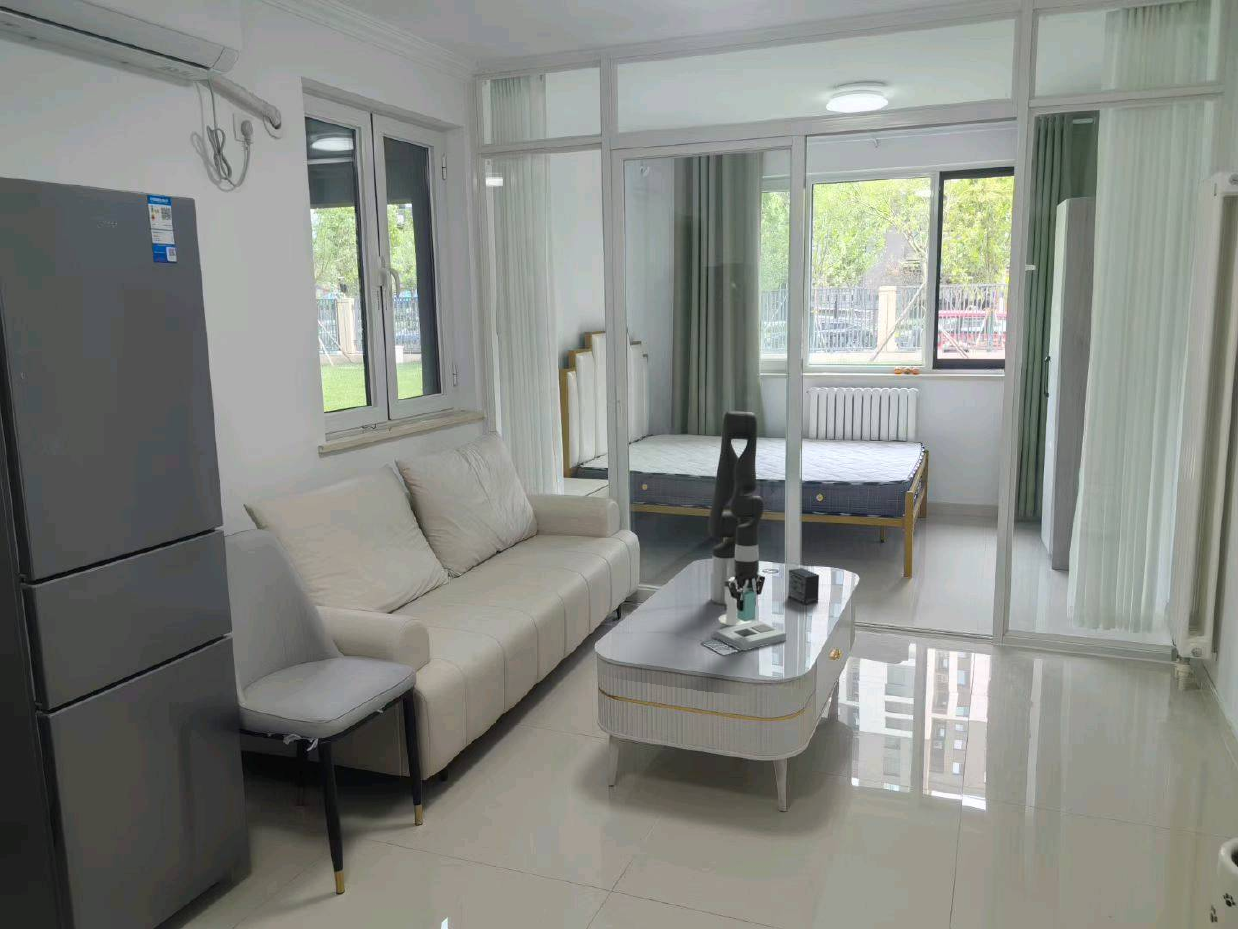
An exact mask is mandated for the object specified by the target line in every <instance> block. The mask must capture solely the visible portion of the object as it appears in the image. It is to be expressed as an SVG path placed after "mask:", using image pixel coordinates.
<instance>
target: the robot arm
mask: <svg viewBox="0 0 1238 929" xmlns="http://www.w3.org/2000/svg"><path fill="white" fill-rule="evenodd" d="M757 419H758V418H757V416H756V414H755V413H754V412H752V411H751V412H750V411H734V410H733V411H731V410H730V411H727V412H725V414H724V415H723V420H722V428H721V441H720V442H721V443H720V444H721V445H720V452H719V458H718V464H717V470H716V477H715V486H714V494H713V499H712V504H711V508H710V512H709V516H708V517H709V518H708V523H707V524H708V526H707V528H708V529H707V530H708V533H709V535H710V536H711V537H712V538H717V539H718V538H726V539H725V540H724V541H722V542H721V543H719V544H717V545H714V546H713V548H712V573H711V575H710V599H712V602H713V603H715V604H719V605H725V604H726V603H725V596H724V592H725V588H726V586H725V581H728V580H729V579H730V578H731V577H735V579H734V580H732V581H728V582H727V584H728V587H729V591H730V594H731V597H732V598H735V599H737V609H738V610H739V611H743V597H744V594H745V593H746V589H748V590H751V591H752V592H755V607H756V605H757V602H756V601H757V596H759V595H760V596H761V594H762V591H763V587H764V585H765V584H764V583H765V580H766V576H764V575H761V574H758V572H759V566H760V565H759V563H760V562H759V557H760V556H759V552H760V551H759V529H760V528H759V527H760V523H761V520H762V517H763V513H764V510H765V501H764V499H763V498H762V497H761V496H759V495H749V494H752V493H754V492H755V491H756V490H757V473H756V472H757V471H756V459H757V458H756V456H757V445H758V444H757V442H758V441H757V440H758V420H757ZM732 440H746V445H745V447H744V448H743V451H742V453H741V454H740V456H739V457H738V455H737V453H736V452H735V449H734V446H733V444H732ZM729 503H730V505H729V506H730V507H729V510H730V511H729V510H727V511H725V508H726V507H727V506H728V504H729ZM741 519H751V520H750V521H749V522H747V523H741ZM735 574H736V576H735ZM736 583H737V585H736ZM736 587H737V588H736ZM741 589H742V590H741ZM726 605H727V604H726Z"/></svg>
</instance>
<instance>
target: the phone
mask: <svg viewBox="0 0 1238 929" xmlns="http://www.w3.org/2000/svg"><path fill="white" fill-rule="evenodd" d="M701 643H702V644H706V645H707V644H713V645H711V646H710V645H708V646H710V647H712V648H716V647H718V646H724V645H726V643H724V642H722V641H720V640H719V639H717V638H715V639H710V640H707V641H706V640H705V641H702V642H700V644H701ZM702 644H701V645H702ZM714 644H717V645H715V646H714ZM718 644H719V645H718ZM722 644H723V645H722ZM726 647H727V646H725V647H724V648H723V647H721V648H719V647H718V648H719V649H718V648H717V649H716V650H730V649H729V648H730V645H729V646H728V647H727V648H726ZM722 648H723V649H722ZM735 649H736V648H734V650H735ZM732 650H733V649H732Z"/></svg>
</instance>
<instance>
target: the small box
mask: <svg viewBox="0 0 1238 929" xmlns="http://www.w3.org/2000/svg"><path fill="white" fill-rule="evenodd" d="M819 585H820V575H819V574H817V573H815V572H813V571H810V570H807V569H805V568H802V567H801V568H794V569H793V568H792V569H789V570H788V592H787V594H788V595H787V597H788V598H790V599H792V600H794V601H796V602H798V603H801V604H802V605H805V606H806V605H810V604H817V603H819V590H820V589H819V587H820V586H819Z"/></svg>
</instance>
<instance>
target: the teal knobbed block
mask: <svg viewBox="0 0 1238 929" xmlns="http://www.w3.org/2000/svg"><path fill="white" fill-rule="evenodd" d="M737 618H738V619H740V620H742V621H745V622H746V621H751V620H752V621H756V606H755V592H752V591H751V590H748V589H746V593H745V594H744V597H743V611H739V610H738V609H737Z"/></svg>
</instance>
